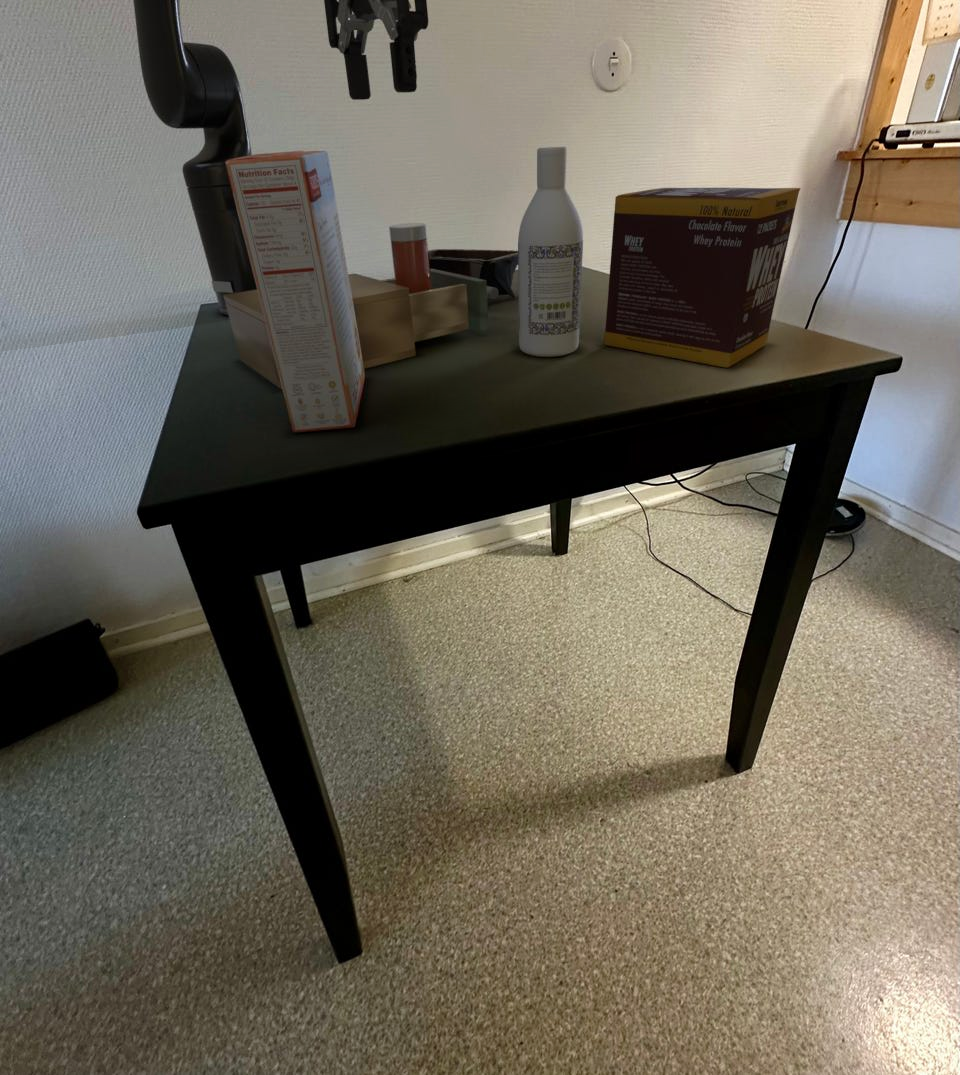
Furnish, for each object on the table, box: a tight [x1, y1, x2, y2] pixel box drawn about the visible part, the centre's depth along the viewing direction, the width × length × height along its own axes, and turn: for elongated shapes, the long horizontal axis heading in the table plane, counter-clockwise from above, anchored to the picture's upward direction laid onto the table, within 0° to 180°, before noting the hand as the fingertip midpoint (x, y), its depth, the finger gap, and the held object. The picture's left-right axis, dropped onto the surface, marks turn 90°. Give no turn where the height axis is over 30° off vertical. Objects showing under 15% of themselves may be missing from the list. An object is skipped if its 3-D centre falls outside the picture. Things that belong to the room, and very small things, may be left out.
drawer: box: [380, 269, 499, 343], centre depth 76 cm, size 20×12×6 cm, turn 126°
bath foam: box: [517, 146, 584, 358], centre depth 65 cm, size 7×7×20 cm
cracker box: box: [225, 150, 366, 433], centre depth 53 cm, size 14×6×21 cm, turn 5°
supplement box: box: [603, 187, 801, 369], centre depth 65 cm, size 10×15×16 cm
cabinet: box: [224, 273, 417, 390], centre depth 70 cm, size 17×14×8 cm
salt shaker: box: [388, 222, 432, 294], centre depth 74 cm, size 4×4×11 cm
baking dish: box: [428, 248, 518, 299], centre depth 91 cm, size 14×18×10 cm
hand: (382, 96), depth 61 cm, fingers open, 8 cm apart
